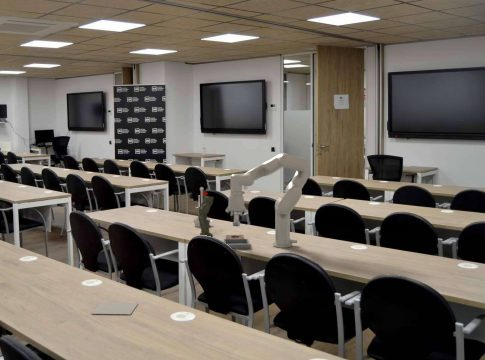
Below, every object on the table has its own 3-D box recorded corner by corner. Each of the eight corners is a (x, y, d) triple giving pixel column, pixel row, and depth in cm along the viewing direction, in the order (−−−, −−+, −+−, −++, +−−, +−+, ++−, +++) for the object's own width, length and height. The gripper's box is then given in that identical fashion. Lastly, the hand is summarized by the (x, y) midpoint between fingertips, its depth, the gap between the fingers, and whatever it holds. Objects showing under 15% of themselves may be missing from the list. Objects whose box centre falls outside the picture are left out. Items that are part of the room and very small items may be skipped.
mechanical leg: (200, 239, 355) (206, 195, 357) (192, 237, 359) (198, 194, 361) (213, 240, 366) (219, 197, 368) (205, 238, 370) (211, 196, 372)
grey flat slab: (124, 324, 210) (124, 322, 210) (63, 323, 211) (63, 321, 211) (138, 304, 233) (138, 302, 233) (83, 303, 234) (83, 301, 234)
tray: (247, 243, 347) (247, 238, 346) (249, 249, 331) (249, 244, 330) (223, 243, 346) (223, 239, 345) (224, 249, 330) (224, 244, 329)
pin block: (243, 238, 361) (243, 234, 361) (244, 242, 349) (244, 238, 349) (226, 238, 361) (226, 234, 360) (226, 242, 349) (226, 238, 348)
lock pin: (239, 225, 339) (239, 212, 338) (240, 226, 334) (240, 214, 334) (232, 225, 339) (232, 212, 338) (233, 226, 334) (233, 214, 333)
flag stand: (196, 227, 396) (195, 188, 392) (191, 224, 408) (191, 186, 404) (212, 226, 400) (212, 187, 397) (207, 223, 412) (207, 185, 409)
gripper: (249, 192, 338) (248, 220, 341) (223, 192, 337) (223, 220, 339) (250, 194, 331) (249, 222, 333) (223, 194, 330) (223, 222, 332)
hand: (236, 221), depth 336 cm, fingers closed on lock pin, 4 cm apart
